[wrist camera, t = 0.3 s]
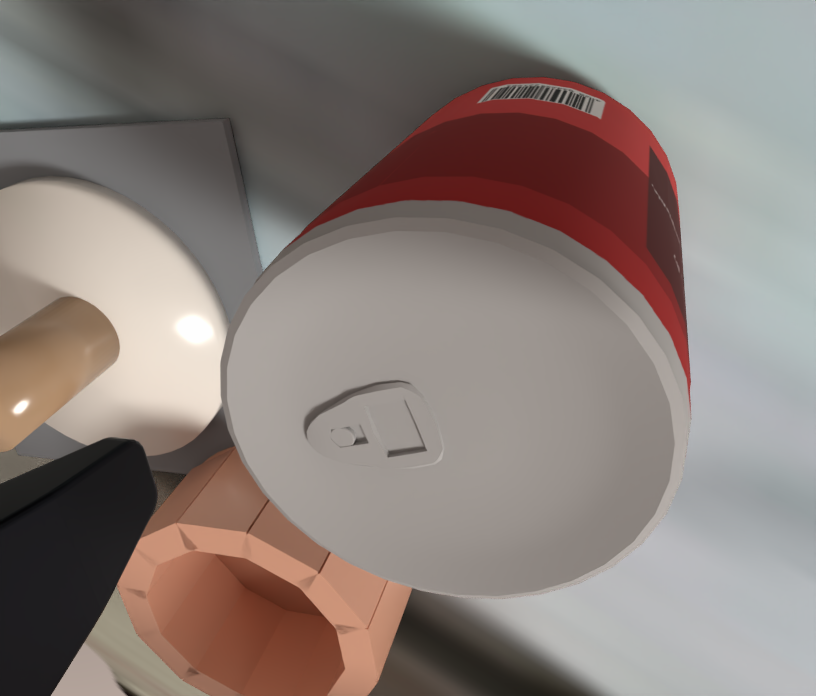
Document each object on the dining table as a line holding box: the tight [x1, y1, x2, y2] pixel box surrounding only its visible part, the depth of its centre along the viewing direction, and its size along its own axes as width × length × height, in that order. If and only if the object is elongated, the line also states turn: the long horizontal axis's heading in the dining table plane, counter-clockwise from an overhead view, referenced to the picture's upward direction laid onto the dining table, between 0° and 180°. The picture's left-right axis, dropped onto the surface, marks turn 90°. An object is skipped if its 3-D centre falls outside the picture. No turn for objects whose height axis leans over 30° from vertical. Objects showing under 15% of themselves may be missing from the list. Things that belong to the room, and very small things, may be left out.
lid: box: [0, 176, 230, 456], centre depth 25 cm, size 11×11×6 cm
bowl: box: [117, 446, 412, 696], centre depth 29 cm, size 10×10×5 cm
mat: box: [0, 118, 263, 474], centre depth 28 cm, size 14×14×1 cm
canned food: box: [220, 77, 691, 599], centre depth 17 cm, size 8×8×11 cm
